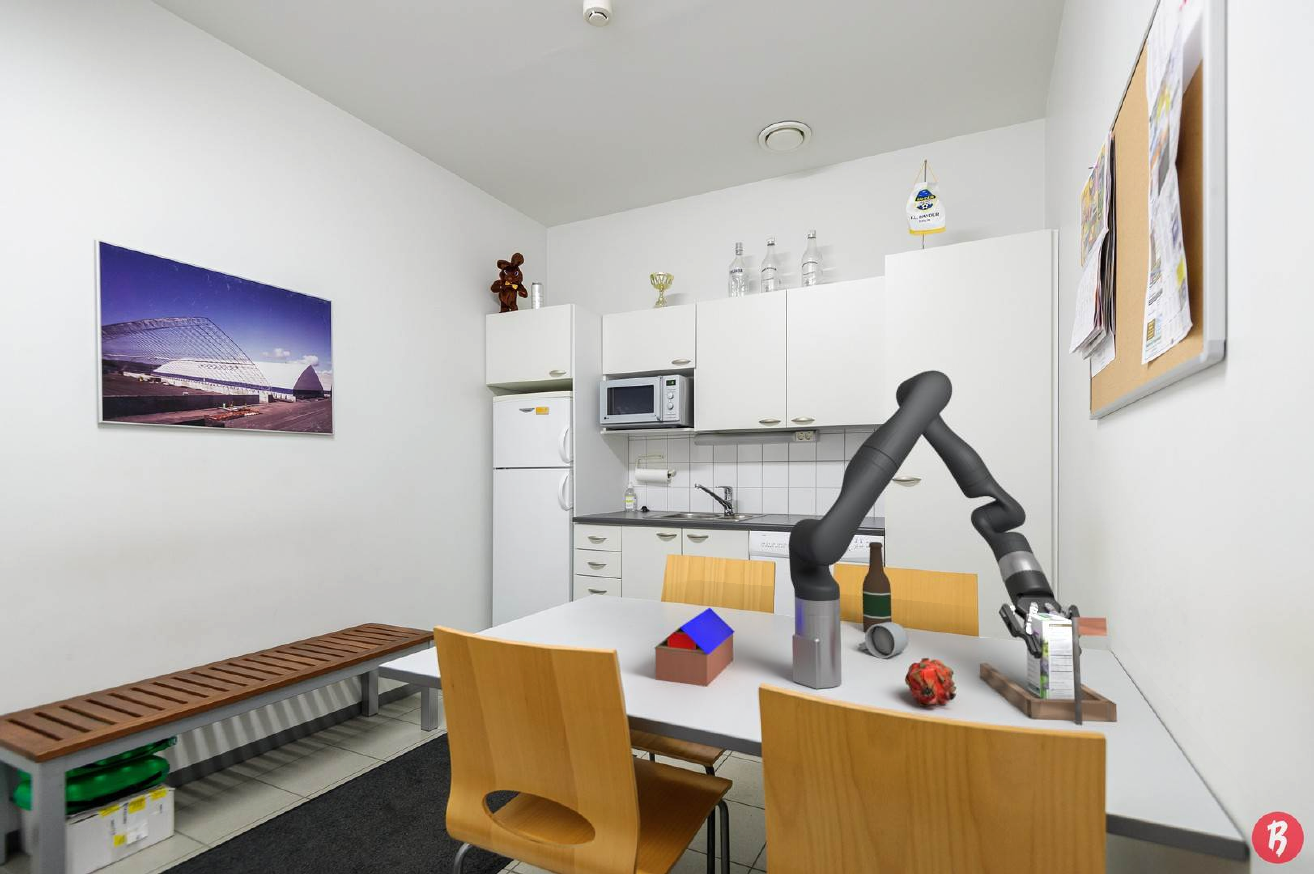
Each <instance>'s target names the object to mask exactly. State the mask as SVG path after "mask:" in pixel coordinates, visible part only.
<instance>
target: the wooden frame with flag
mask: <svg viewBox="0 0 1314 874" xmlns="http://www.w3.org/2000/svg"><path fill="white" fill-rule="evenodd" d="M1071 622H1072V648H1073V674H1074V700H1064V699H1043V698H1035V697H1034V696H1033V695H1031V694H1030V693H1028V692H1027V691H1026V690H1024V689H1023V688H1022V687H1020V686H1019V685H1018V684H1016V683H1015V682H1013V681H1012V680H1011V679H1009V678H1008V677H1007V676H1005V675H1003V674H1002V673H1001V672H1000V671H998V670H997V669H995V667H993V666H992V665H990V664H989V663H987V662H986V663H984V662H983V663H982V662H979V677H980V679H981V680H983V682H985V684H987V685H989V686H990V687H991V688H992V689H993V690H995V692H998V694H999V695H1001V696H1002V697H1003V698H1005V699H1006V700H1007V701H1009V702H1010V703H1011V704H1012V705H1014V706H1015V707H1016V708H1017V709H1019V710H1020V711H1021V712H1022V713H1023V714H1025V715H1026V716H1028V717H1029V718H1030V719H1031V720H1048V721H1049V720H1052V721H1053V720H1056V721H1075V725H1078V724H1080V725H1079V726H1082V725H1083V722H1084V721H1085V722H1086V721H1087V722H1111V723H1113V722H1114V723H1116V722H1118V717H1117V716H1118V713H1117V703H1116V702H1113V701H1111V700H1110V699H1108V698H1106V697H1105V696H1104V695H1101V694H1100V693H1098V692H1096V691H1095V690H1093V689H1091V688H1090V687H1088V686H1086V685H1085V684H1083V683H1082V682H1081V679H1082V678H1081V676H1082V675H1081V654H1080V651H1079V646H1080V638H1079V635H1081V636H1086V637H1087V636H1088V637H1089V636H1091V637H1093V636H1096V637H1097V636H1098V637H1099V636H1100V637H1107V636H1108V633H1107V617H1081V616H1080V617H1071Z"/></svg>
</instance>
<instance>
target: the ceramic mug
mask: <svg viewBox="0 0 1314 874" xmlns="http://www.w3.org/2000/svg"><path fill="white" fill-rule="evenodd" d="M864 635H865V636H864V641H863V642H861V643H859V644H858V646H859V648H860V651H864V650H868V651H869V653H870V654H872V655H873V656H874V657H877V658H878V659H888V658H891V657H894V656H896V655H898V654H900V653H902V652H903V651H904V650H906V648H907V647H908V645H909V636H908V632H907V631H906V630H905V628H904V627H903V626H902V625H901V624H899V623H896V622H886V623H881V624H875V625H873V626H871V627H870V628H869V629H868V630H867V632H866V633H865V634H864Z"/></svg>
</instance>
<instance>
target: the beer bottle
mask: <svg viewBox="0 0 1314 874" xmlns="http://www.w3.org/2000/svg"><path fill="white" fill-rule="evenodd" d="M868 547H869V563H868V566H869V567H868V572H867V573H866V575H865V577H864V580H863V582H862V626H863V629H862V630H863V633H865V634H866V632H867V630H868V629H869V628H870V627H871V626H873V625H875V624H881V623H886V622H892V620H893V619H892V618H893V617H892V589H891V582H890V580H889V577H888V576H887V575H886V573H885V570H884V561H883V550H882V548H883V544H882V542H878V541H871V542H869V544H868Z"/></svg>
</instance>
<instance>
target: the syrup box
mask: <svg viewBox="0 0 1314 874" xmlns="http://www.w3.org/2000/svg"><path fill="white" fill-rule="evenodd" d="M1028 615H1029V614H1027V620H1028ZM1030 617H1031V620H1032V626H1033V628H1034V631H1033V635H1036V638H1037V640H1038V643H1039V645H1040V647H1041V650H1042V656H1041V657H1040V659H1035V658H1034V656H1033V655H1031V654H1030V653H1029V650H1028V648H1027V647H1026V654H1027V655H1026V659H1027V660H1026V661H1027V663H1026V664H1027V690H1028V691H1029V692H1032V693H1034V695H1036V696H1038V697H1040V699H1064V700H1074V674H1073V648H1072V622H1071V620H1068V619H1065V617H1063V616H1062V617H1060V616H1056V615H1052V614H1047V613H1037V614H1033V615H1030Z"/></svg>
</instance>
